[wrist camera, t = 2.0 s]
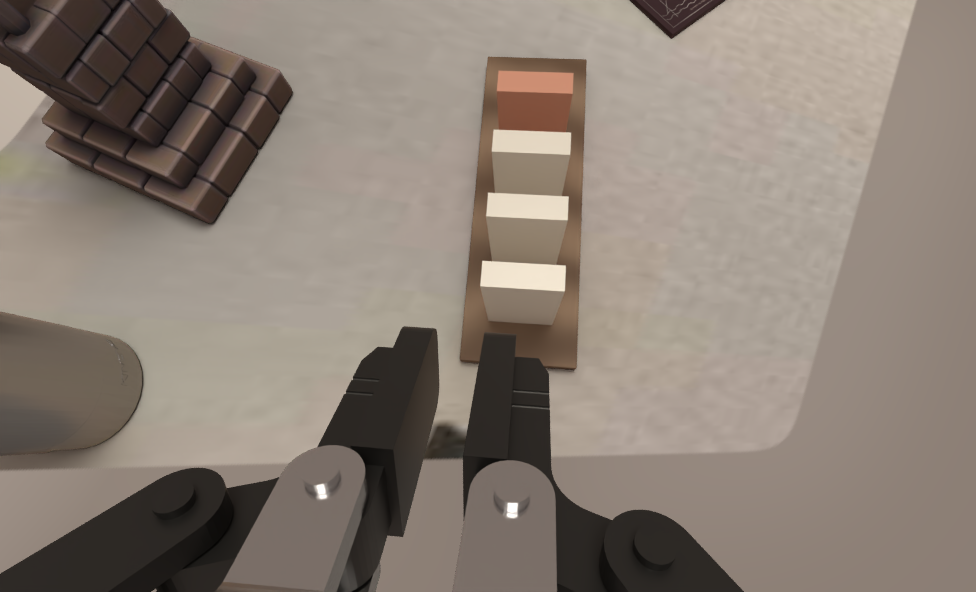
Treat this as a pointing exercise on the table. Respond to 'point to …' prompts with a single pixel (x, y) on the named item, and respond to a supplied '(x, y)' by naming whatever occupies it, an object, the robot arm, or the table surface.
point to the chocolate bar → (675, 12)
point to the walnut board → (561, 337)
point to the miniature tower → (143, 96)
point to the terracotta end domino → (534, 100)
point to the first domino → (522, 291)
